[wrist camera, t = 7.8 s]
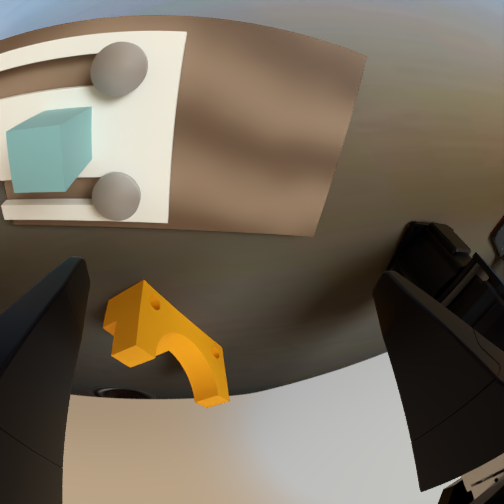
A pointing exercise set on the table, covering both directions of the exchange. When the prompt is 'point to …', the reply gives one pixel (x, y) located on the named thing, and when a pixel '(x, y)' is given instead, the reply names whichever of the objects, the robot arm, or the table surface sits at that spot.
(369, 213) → the table surface
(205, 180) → the boss board
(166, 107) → the keyhole panel
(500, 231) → the handheld game console
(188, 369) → the pipe clamp
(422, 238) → the robot arm
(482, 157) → the table surface
